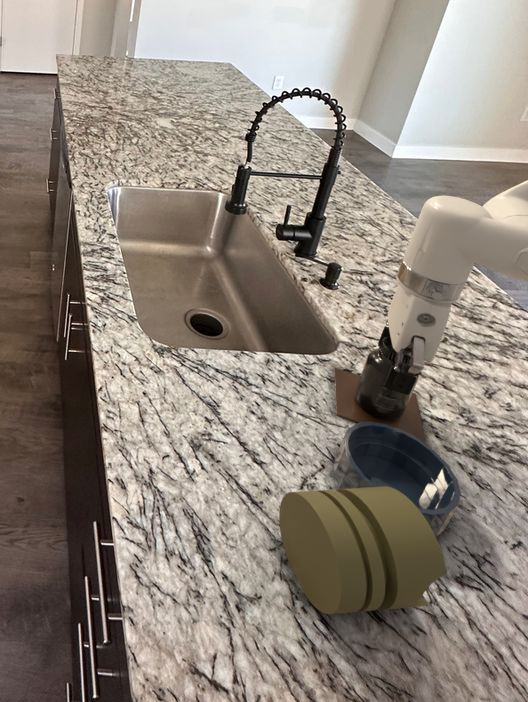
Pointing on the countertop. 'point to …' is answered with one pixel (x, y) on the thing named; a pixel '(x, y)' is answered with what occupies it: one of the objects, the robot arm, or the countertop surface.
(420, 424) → the walnut board
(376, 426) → the bowl
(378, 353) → the supplement bottle
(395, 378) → the robot arm
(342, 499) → the piston
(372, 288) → the countertop surface
